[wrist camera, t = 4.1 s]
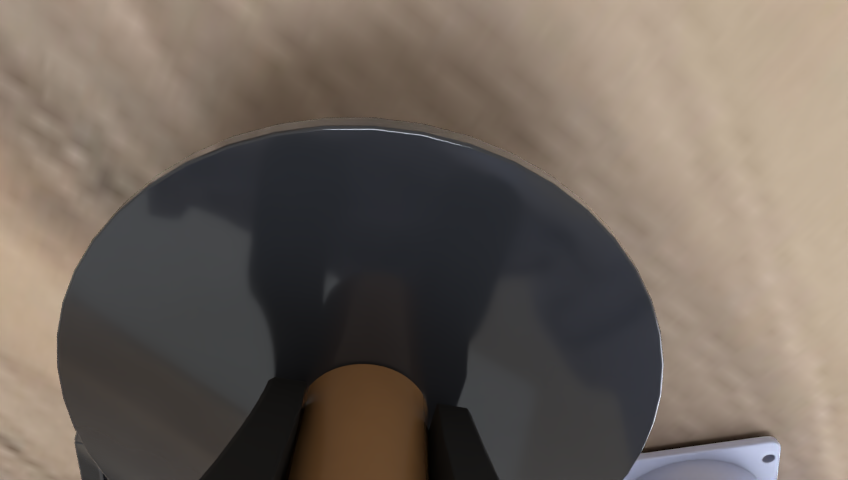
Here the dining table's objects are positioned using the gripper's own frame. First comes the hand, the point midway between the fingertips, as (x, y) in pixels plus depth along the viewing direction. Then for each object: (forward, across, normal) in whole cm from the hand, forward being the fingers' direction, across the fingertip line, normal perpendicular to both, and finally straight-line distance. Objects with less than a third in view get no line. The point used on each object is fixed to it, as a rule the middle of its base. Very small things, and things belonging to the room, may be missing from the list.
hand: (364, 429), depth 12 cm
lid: (+1, 0, 0) cm, 1 cm away
